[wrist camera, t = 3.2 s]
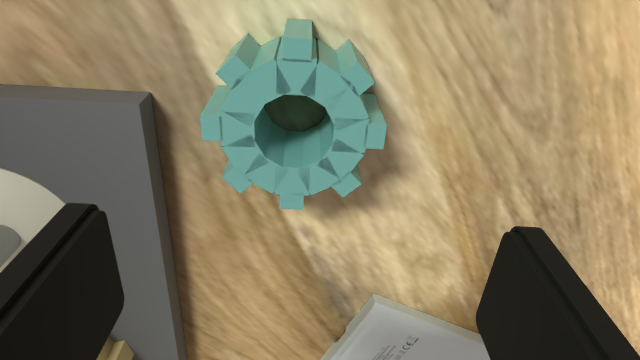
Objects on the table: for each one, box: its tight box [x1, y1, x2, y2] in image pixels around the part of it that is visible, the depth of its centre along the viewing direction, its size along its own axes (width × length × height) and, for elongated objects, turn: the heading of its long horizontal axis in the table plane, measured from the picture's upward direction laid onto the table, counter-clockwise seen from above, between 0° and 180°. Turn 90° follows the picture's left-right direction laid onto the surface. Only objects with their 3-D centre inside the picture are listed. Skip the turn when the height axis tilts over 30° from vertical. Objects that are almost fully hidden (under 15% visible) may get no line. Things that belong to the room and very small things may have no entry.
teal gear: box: [200, 19, 387, 210], centre depth 18 cm, size 7×7×4 cm
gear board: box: [0, 84, 188, 360], centre depth 22 cm, size 24×15×6 cm, turn 176°
